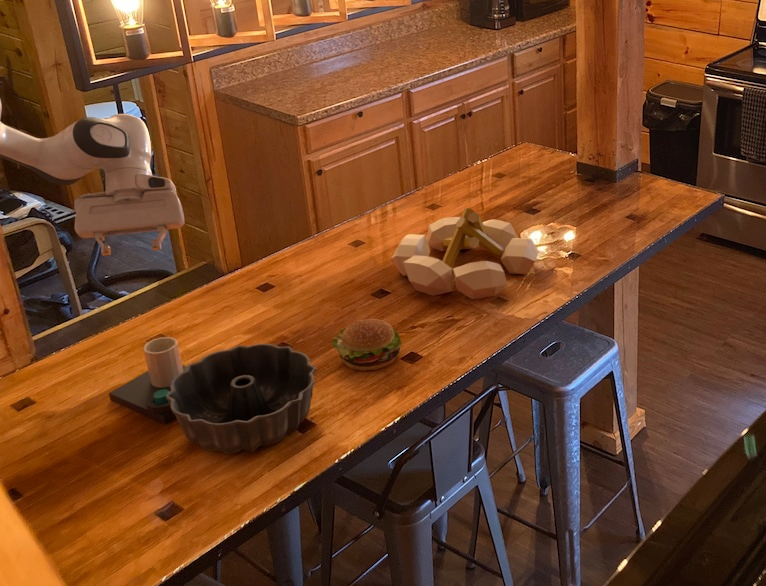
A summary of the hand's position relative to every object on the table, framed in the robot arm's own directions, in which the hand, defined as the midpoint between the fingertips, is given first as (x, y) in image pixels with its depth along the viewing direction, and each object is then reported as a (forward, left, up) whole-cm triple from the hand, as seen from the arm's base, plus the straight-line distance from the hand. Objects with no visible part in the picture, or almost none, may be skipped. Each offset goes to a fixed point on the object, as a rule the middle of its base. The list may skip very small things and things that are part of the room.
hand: (131, 252), depth 192 cm
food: (+40, +22, -26) cm, 52 cm away
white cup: (+12, -6, -23) cm, 27 cm away
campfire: (+34, +66, -26) cm, 79 cm away
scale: (+14, -8, -25) cm, 30 cm away
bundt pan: (+36, -7, -26) cm, 44 cm away
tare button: (+19, -12, -22) cm, 31 cm away
